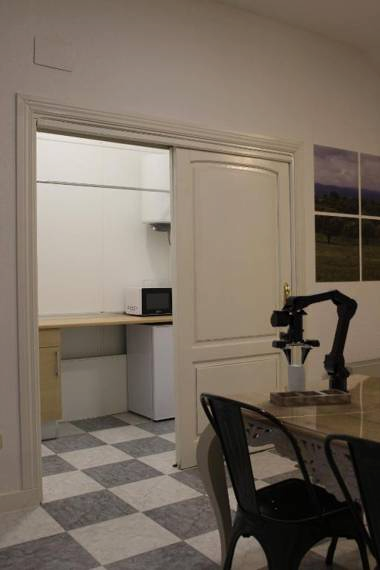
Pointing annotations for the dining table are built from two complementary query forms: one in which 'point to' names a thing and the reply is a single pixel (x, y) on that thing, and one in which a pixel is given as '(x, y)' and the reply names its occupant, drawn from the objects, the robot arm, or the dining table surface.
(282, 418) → the dining table surface
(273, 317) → the robot arm
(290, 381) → the skincare box
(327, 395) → the rail
